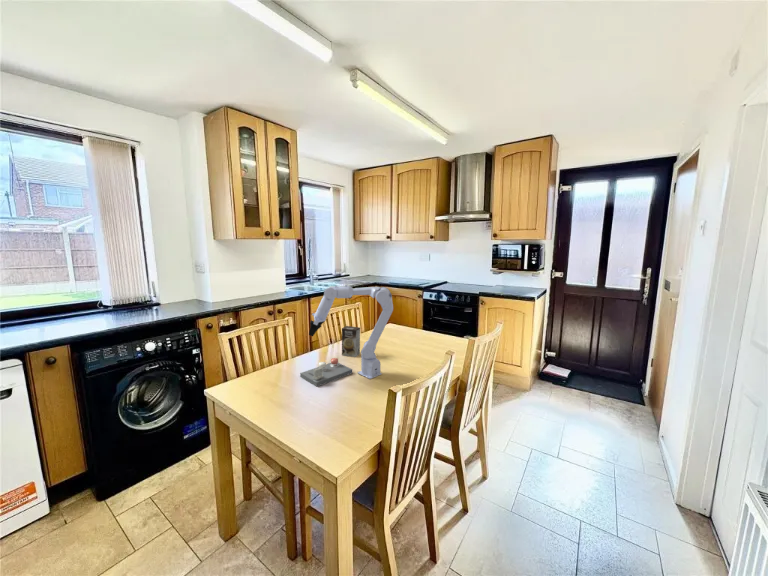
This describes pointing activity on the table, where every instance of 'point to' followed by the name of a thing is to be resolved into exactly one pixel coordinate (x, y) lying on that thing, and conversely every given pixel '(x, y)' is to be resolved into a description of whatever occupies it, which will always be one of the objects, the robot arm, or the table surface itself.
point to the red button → (334, 361)
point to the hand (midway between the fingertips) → (312, 332)
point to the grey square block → (318, 374)
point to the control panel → (327, 374)
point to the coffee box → (350, 341)
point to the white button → (322, 365)
